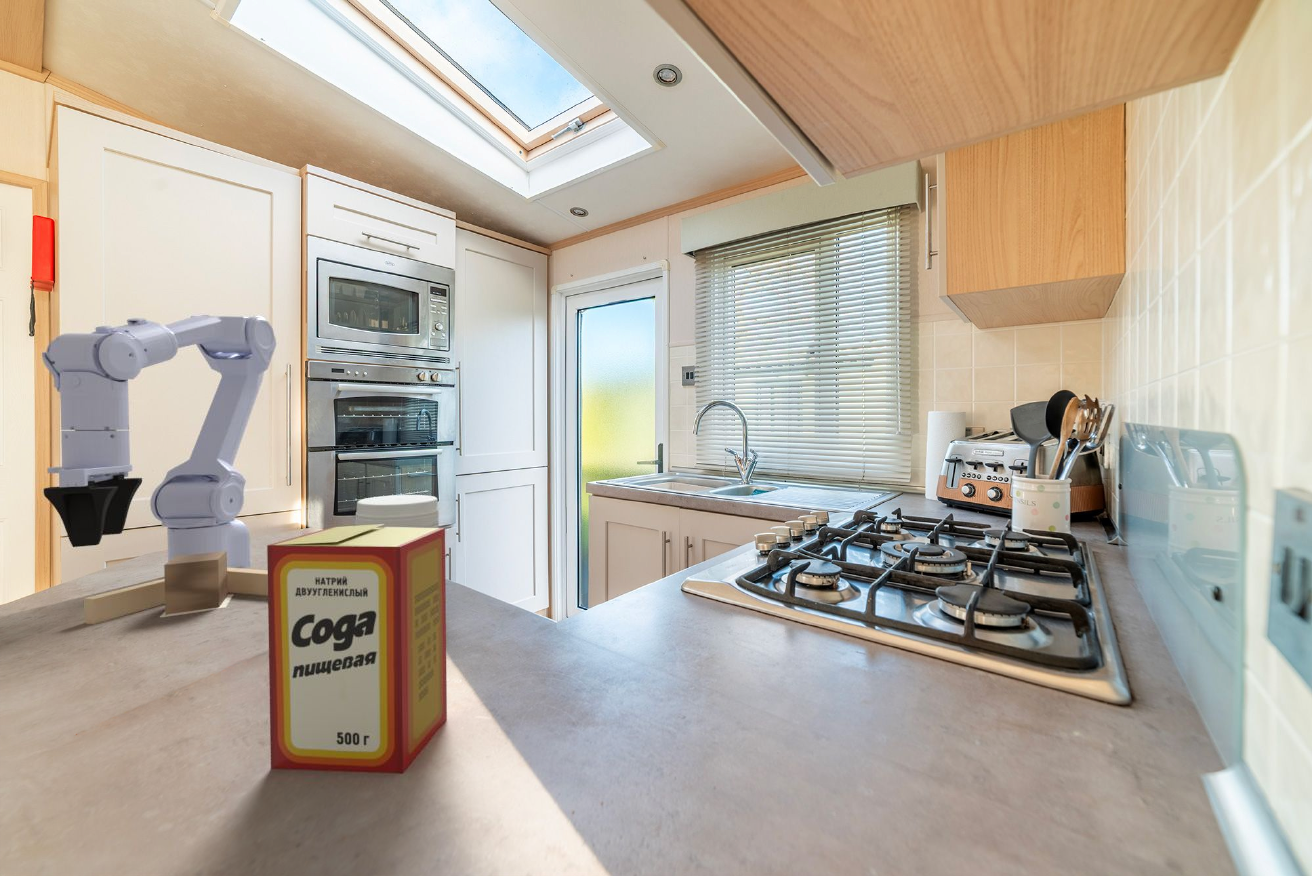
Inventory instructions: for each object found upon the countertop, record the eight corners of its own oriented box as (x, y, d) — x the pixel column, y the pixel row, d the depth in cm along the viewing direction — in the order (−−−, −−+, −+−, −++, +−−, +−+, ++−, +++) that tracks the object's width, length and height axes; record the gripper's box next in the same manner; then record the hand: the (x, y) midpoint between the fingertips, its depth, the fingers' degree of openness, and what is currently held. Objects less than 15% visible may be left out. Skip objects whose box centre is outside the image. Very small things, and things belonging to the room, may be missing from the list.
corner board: (213, 595, 73) (213, 566, 73) (324, 605, 69) (324, 574, 68) (84, 634, 59) (83, 598, 59) (212, 650, 55) (212, 611, 55)
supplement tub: (337, 621, 63) (335, 502, 63) (399, 597, 72) (398, 492, 72) (397, 631, 60) (396, 506, 60) (455, 605, 69) (454, 495, 68)
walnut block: (227, 595, 68) (226, 551, 68) (219, 607, 64) (218, 559, 64) (177, 602, 66) (176, 556, 66) (165, 614, 62) (164, 564, 61)
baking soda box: (446, 719, 42) (444, 523, 41) (403, 773, 35) (400, 541, 35) (334, 716, 42) (331, 522, 42) (270, 768, 36) (267, 540, 35)
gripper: (74, 430, 68) (77, 533, 68) (16, 430, 55) (20, 556, 56) (148, 430, 71) (150, 527, 72) (109, 430, 59) (111, 548, 59)
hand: (98, 539), depth 64 cm, fingers open, 7 cm apart
